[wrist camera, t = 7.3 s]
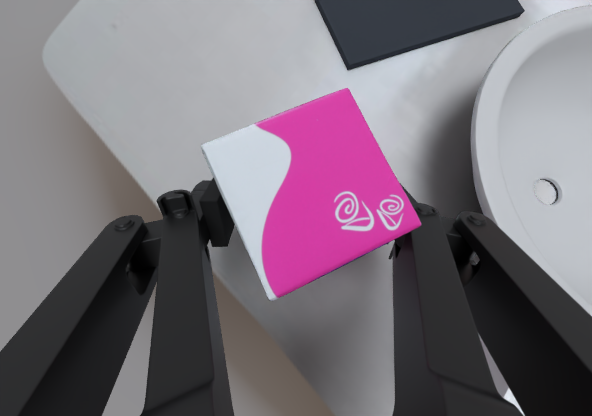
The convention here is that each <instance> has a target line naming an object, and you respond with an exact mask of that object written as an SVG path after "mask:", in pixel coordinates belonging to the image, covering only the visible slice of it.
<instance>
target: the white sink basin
mask: <svg viewBox="0 0 592 416" xmlns="http://www.w3.org/2000/svg"><path fill="white" fill-rule="evenodd" d="M471 156H472V164H473V178H474V184H475V190H476V194H477V197H478V201H479V204H480V206H481V209H482V212H483V214H484V216H486V217H488V218H489V219H491V220H492V221H493V222H494V223H495V224H496V225H497V226H498V227H499V228H500V229H501V230H502V231H504V232H505V233H506V234H507V235H508V236H509V237H510V238H511V239H512V240H513V241H514V242H515V243H516V244H517V245H518V246H519V247H520V248H521V249H522V250H523V251H524V252H525V253H526V254H527V255H529V256H530V257H531V258H532V259H533V260H534V261H535V262H536V263H537V264H538V265H539V266H540V267H541V268H542V269H543V270H544V271H545V272H546V273H547V274H548V275H549V276H550V277H551V278H552V279H554V280H555V281H556V282H557V283H558V284H559V285H560V286H561V287H562V288H563V289H564V290H565V291H566V292H567V293H568V294H569V295H570V296H571V297H572V298H573V299H574V300H575V301H576V302H577V303H578V304H580V305H581V306H582V307H583V308H584V309H585V310H586V311H587V312H588V313H589V314H590V315H591V316H592V5H588V6H582V7H576V8H572V9H568V10H564V11H561V12H558V13H555V14H553V15H550V16H548V17H546V18H544V19H542V20H540V21H538V22H536V23H534V24H533V25H531V26H530V27H528V28H527V29H525V30H524V31H522V32H521V33H519V34H518V35H517V36H516V37H515V38H513V39H512V40H511V41H510V42H509V43H508V44H507V45H506V46H505V47H504V48H503V49H502V51H501V52H500V53H499V54H498V56H497V57H496V59H495V60H494V61H493V63H492V64H491V66H490V67H489V69H488V71H487V73H486V74H485V76H484V78H483V80H482V83H481V85H480V88H479V90H478V93H477V96H476V100H475V104H474V108H473V114H472V122H471ZM539 179H547V180H549V181H551V182H552V183H553V184H554V185H555V186H556V188H557V190H558V200H557V201H556V202H555V203H554V204H551V205H548V204H545V203H543V202H542V201H540V200H539V199H538V197H537V196H536V193H535V184H536V182H537V181H538V180H539Z"/></svg>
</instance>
